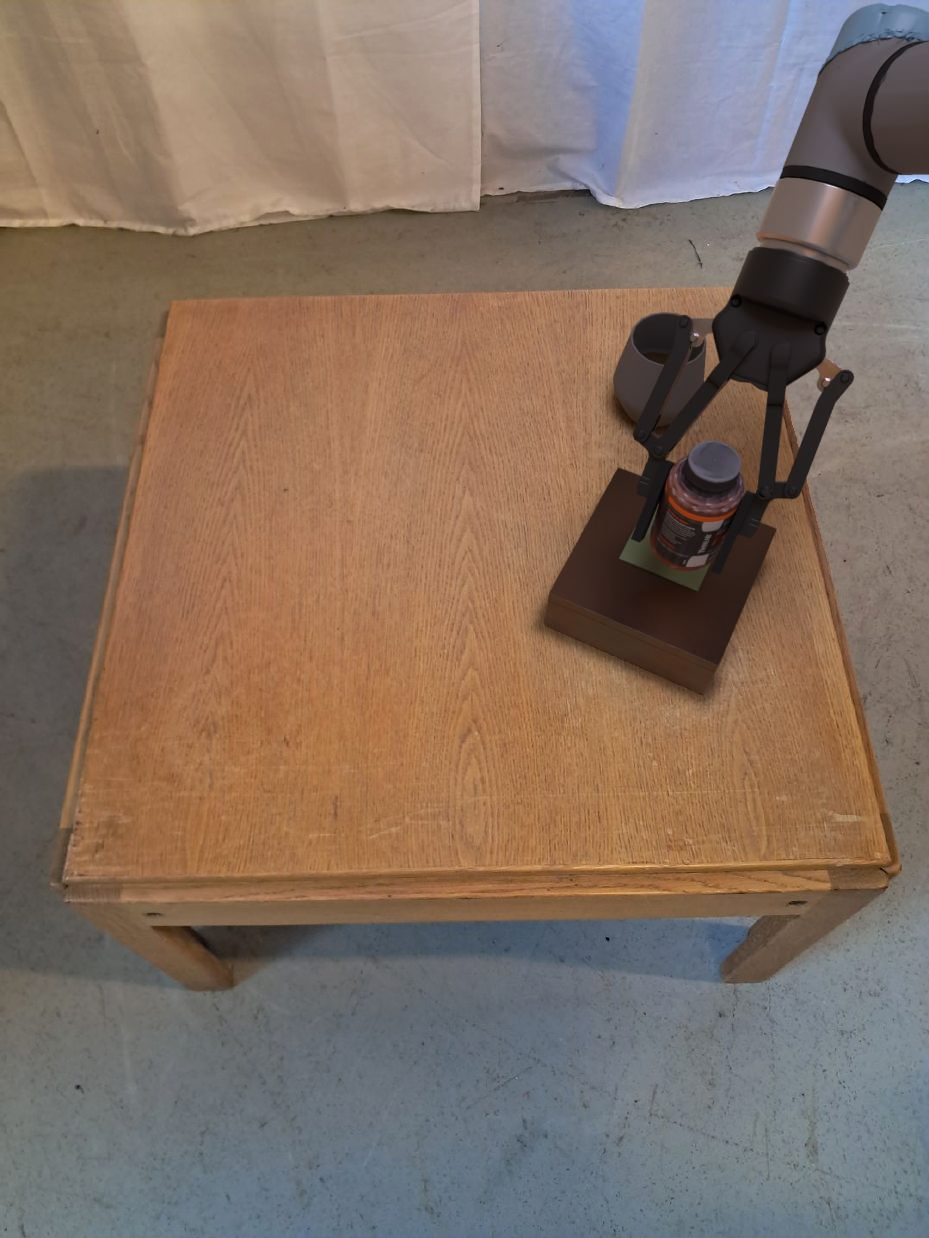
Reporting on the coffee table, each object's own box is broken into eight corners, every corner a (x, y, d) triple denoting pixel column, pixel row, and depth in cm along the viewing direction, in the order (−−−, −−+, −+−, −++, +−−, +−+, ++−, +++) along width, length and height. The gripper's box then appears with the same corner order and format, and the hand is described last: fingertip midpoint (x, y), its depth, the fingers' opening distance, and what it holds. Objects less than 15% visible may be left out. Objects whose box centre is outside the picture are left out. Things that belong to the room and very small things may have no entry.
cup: (604, 435, 98) (617, 368, 89) (611, 371, 102) (624, 301, 94) (693, 445, 97) (715, 378, 88) (696, 380, 102) (717, 310, 93)
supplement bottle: (712, 581, 76) (749, 501, 66) (642, 565, 76) (667, 483, 66) (723, 524, 78) (760, 439, 68) (655, 508, 79) (681, 422, 69)
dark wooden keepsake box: (759, 563, 90) (777, 527, 84) (703, 695, 83) (719, 665, 78) (610, 503, 94) (618, 465, 88) (544, 625, 87) (548, 592, 81)
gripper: (927, 306, 67) (791, 591, 74) (683, 229, 71) (578, 506, 78) (943, 295, 60) (791, 610, 67) (671, 210, 64) (557, 515, 72)
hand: (676, 553), depth 73 cm, fingers closed on supplement bottle, 6 cm apart
